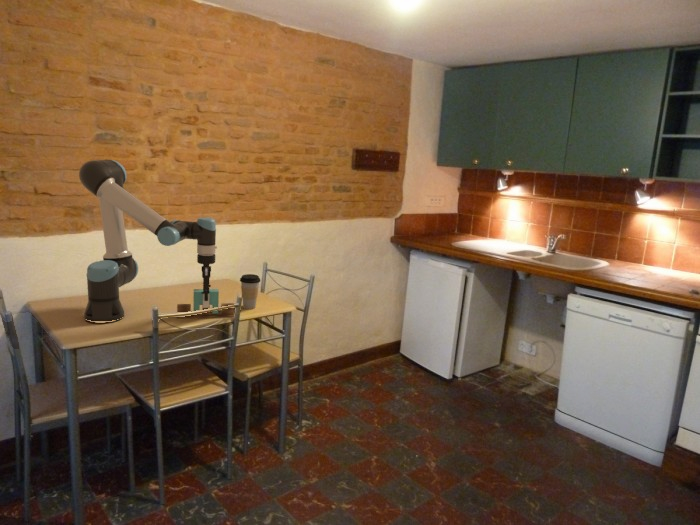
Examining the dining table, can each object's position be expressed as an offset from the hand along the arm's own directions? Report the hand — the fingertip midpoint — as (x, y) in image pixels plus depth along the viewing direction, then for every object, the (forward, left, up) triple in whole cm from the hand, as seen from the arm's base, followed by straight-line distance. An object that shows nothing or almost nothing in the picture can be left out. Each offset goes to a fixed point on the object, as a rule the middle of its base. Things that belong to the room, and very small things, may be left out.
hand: (206, 304), depth 224 cm
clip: (0, 0, -4) cm, 4 cm away
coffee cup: (+20, +10, -5) cm, 23 cm away
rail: (0, 0, -5) cm, 5 cm away
